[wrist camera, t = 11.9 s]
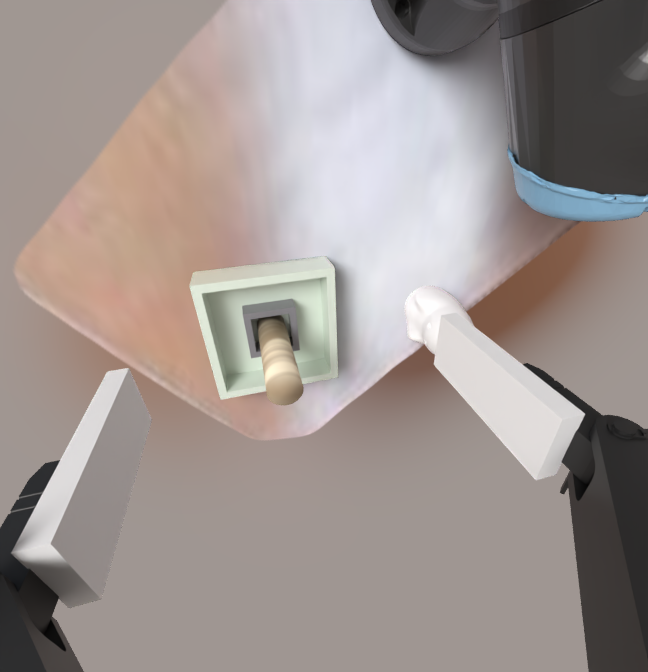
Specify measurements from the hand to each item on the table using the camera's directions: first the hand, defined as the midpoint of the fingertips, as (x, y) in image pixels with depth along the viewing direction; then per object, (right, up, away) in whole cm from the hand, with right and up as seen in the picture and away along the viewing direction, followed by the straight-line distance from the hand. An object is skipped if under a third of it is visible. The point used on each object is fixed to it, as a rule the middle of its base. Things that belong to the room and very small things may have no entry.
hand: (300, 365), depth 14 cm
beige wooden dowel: (-6, +3, +30) cm, 31 cm away
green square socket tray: (-6, +3, +31) cm, 31 cm away
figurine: (+15, +6, +35) cm, 39 cm away
